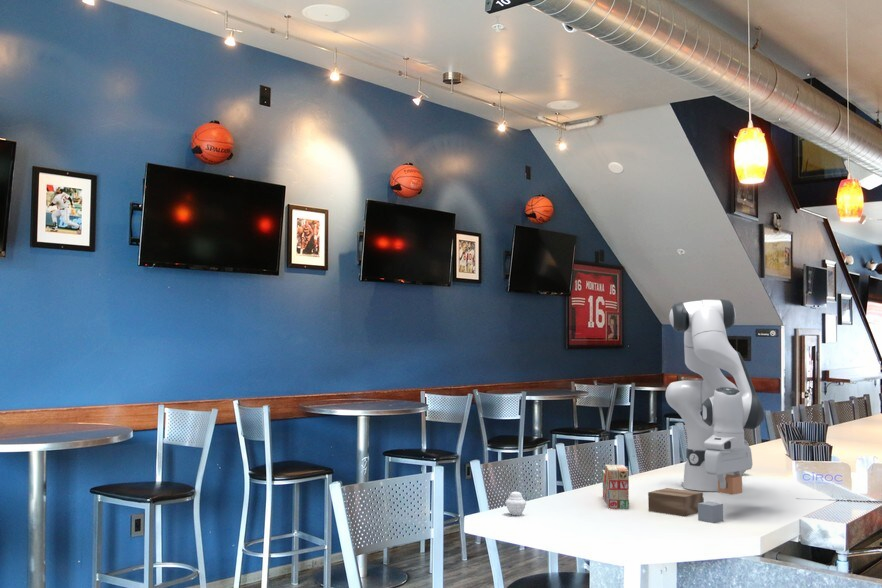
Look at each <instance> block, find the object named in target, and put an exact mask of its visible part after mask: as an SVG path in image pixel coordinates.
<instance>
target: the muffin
mask: <svg viewBox="0 0 882 588" xmlns="http://www.w3.org/2000/svg"><path fill="white" fill-rule="evenodd" d="M505 505H506V508H507V510H508V513H509V514H512V515H511V516H513V515H519V516H521V515H522V514H523V512H524V511H525V508H526V505H527V502H526V500H525V499H524V498H523V495H522V493H521V492H519V491H516V490H515V491H512V492H510V494H509V496H508V498H507V499H506V500H505ZM520 514H521V515H520Z"/></svg>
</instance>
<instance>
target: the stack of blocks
mask: <svg viewBox="0 0 882 588" xmlns="http://www.w3.org/2000/svg"><path fill="white" fill-rule="evenodd" d="M629 471H630V470H628V467H626V466H625V465H624V464H604V469H602V470H601V479H602V498H603V497H604V498H603V499H604V502H605V501H606V502H605V503H606V505H608V506H607V508H608V509H609V508H610V510H611V509H612V510H629V507H630V500H629V497H630V496H629V490H630V489H629V487H630V486H629V484H630V482H629V481H630V480H629V477H630V476H629V475H630V472H629Z"/></svg>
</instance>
